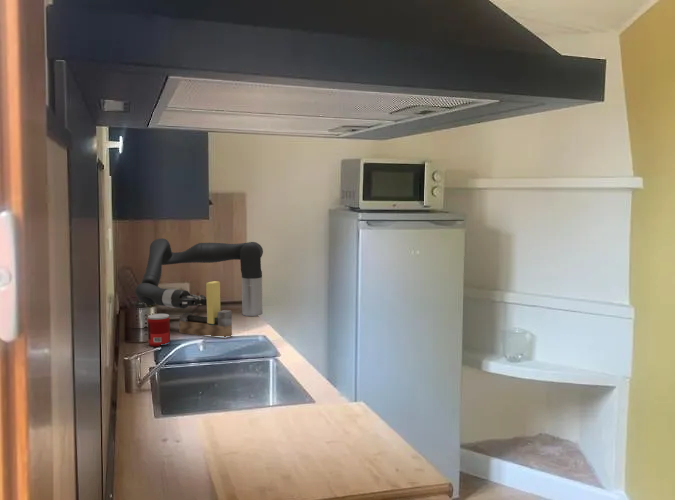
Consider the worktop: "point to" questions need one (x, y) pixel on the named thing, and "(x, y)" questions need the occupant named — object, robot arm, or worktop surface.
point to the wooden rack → (206, 324)
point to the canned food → (158, 329)
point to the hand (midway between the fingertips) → (210, 302)
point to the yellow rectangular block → (213, 301)
